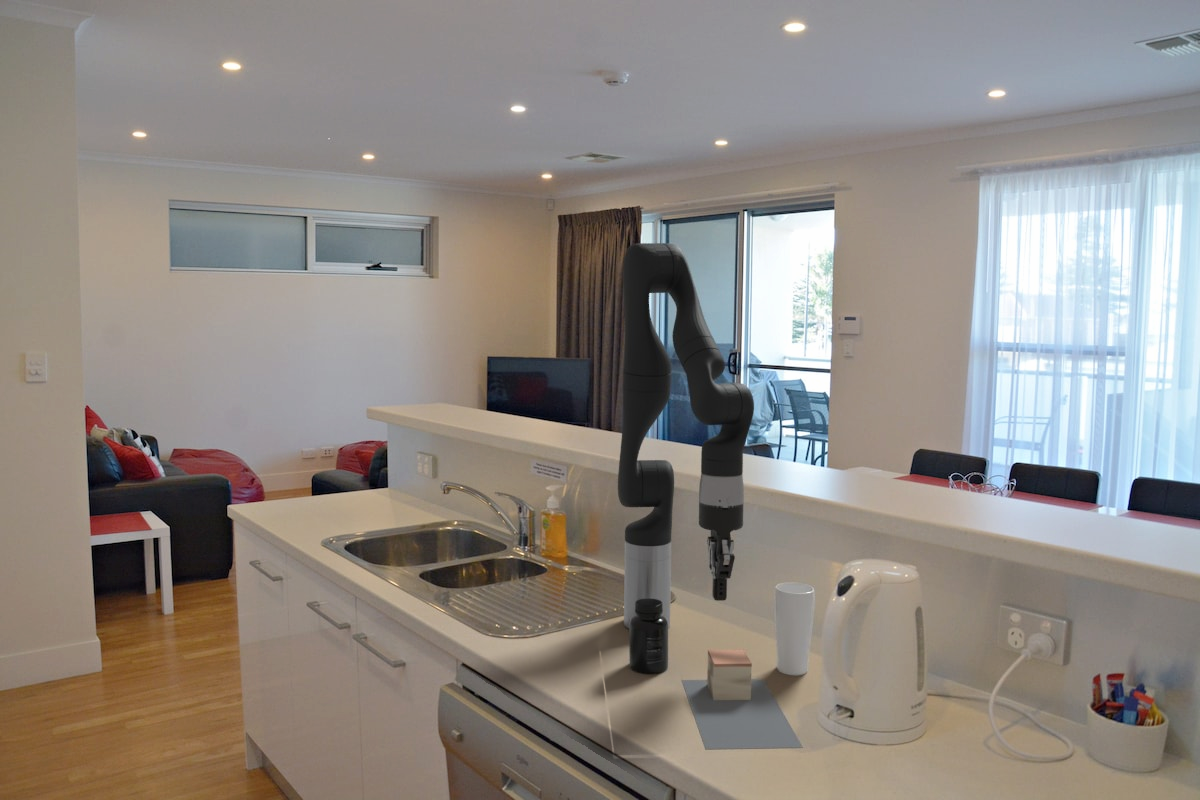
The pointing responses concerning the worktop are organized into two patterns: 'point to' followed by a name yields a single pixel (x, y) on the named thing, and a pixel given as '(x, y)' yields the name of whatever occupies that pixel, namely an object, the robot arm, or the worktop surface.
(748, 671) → the birch cube
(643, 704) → the worktop surface
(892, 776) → the worktop surface
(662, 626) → the supplement bottle
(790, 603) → the drinking glass
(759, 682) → the slate mat
